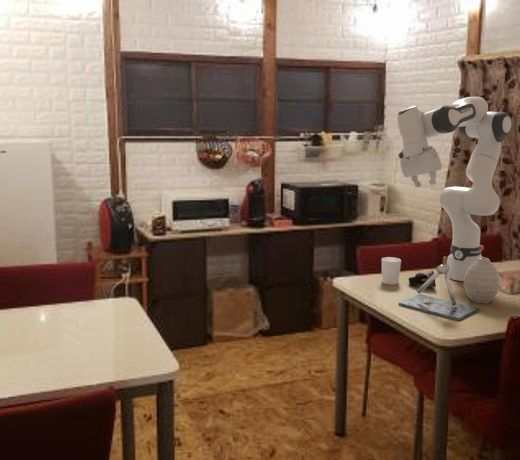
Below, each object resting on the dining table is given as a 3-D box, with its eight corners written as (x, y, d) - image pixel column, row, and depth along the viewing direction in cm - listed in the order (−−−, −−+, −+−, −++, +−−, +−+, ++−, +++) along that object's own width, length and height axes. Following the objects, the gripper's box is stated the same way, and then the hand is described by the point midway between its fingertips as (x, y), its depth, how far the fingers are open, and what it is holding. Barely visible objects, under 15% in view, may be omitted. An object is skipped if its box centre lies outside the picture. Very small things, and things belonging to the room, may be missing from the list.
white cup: (376, 282, 253) (377, 259, 251) (388, 278, 259) (389, 256, 257) (392, 286, 248) (393, 262, 246) (403, 282, 253) (404, 259, 251)
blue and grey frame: (419, 296, 234) (422, 248, 230) (478, 310, 217) (482, 259, 214) (398, 305, 224) (400, 254, 220) (458, 320, 207) (462, 266, 203)
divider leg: (416, 288, 225) (442, 262, 216) (422, 294, 224) (448, 269, 215) (414, 289, 224) (440, 263, 215) (420, 295, 223) (446, 270, 214)
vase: (501, 299, 230) (505, 257, 227) (493, 308, 220) (497, 264, 217) (467, 293, 237) (470, 252, 234) (458, 302, 227) (461, 259, 224)
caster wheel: (408, 288, 254) (432, 285, 253) (412, 290, 243) (437, 287, 242) (406, 272, 254) (430, 269, 253) (409, 273, 243) (435, 270, 242)
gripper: (440, 143, 217) (449, 180, 218) (408, 152, 237) (417, 186, 237) (426, 147, 215) (435, 184, 216) (395, 155, 235) (403, 190, 235)
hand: (425, 185), depth 227 cm, fingers open, 8 cm apart
